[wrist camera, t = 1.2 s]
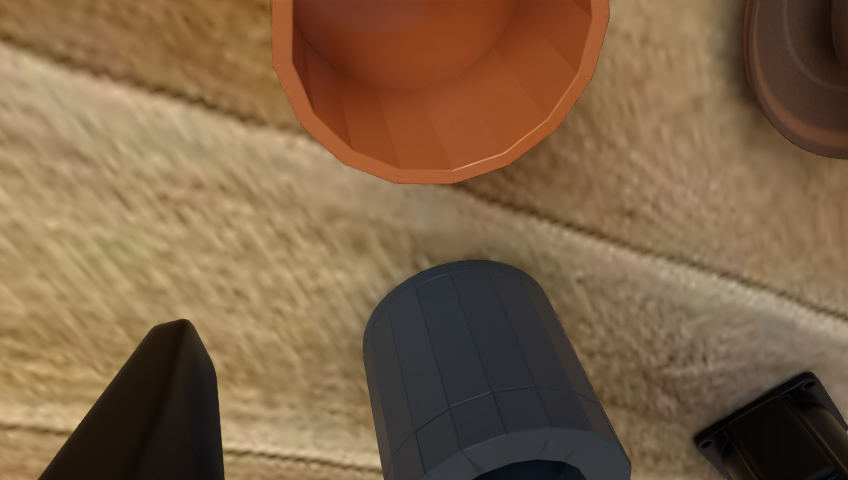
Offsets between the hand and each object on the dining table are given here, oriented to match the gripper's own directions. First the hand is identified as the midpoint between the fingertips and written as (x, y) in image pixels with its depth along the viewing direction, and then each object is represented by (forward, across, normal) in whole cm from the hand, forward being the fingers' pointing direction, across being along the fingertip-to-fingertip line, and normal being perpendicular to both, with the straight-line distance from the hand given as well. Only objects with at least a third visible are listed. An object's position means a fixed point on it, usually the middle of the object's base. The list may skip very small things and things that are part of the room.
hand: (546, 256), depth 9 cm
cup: (+12, 0, 0) cm, 12 cm away
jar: (+12, 0, +14) cm, 18 cm away
